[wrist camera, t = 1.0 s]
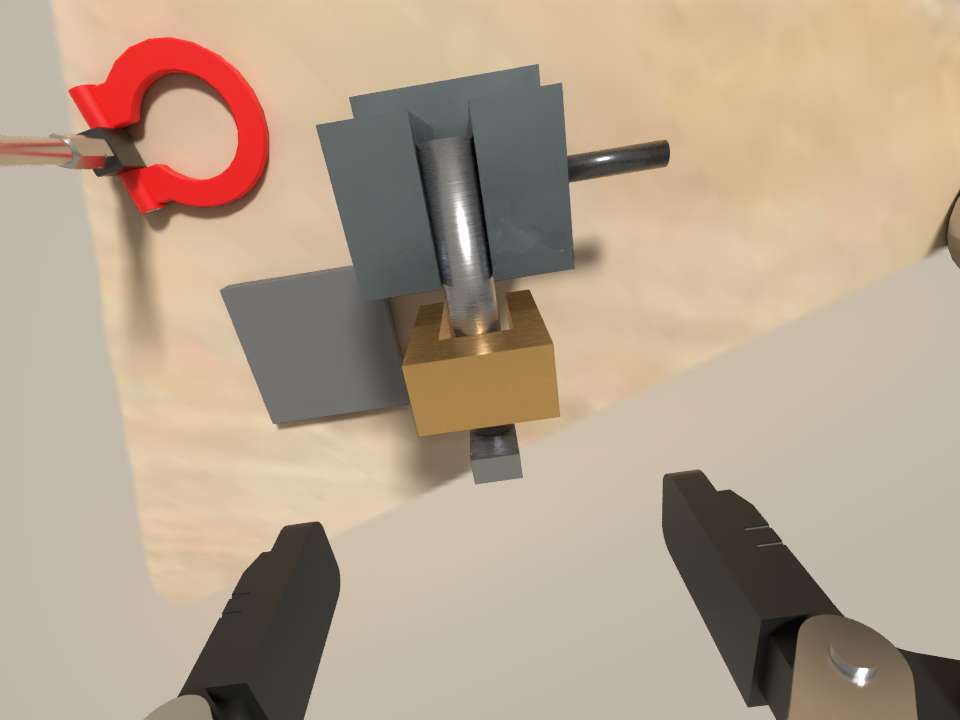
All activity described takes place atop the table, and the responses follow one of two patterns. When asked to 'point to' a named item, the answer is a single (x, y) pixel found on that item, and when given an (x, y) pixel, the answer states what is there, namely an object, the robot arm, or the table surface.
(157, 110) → the table surface
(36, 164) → the tow hook
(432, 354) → the ochre slotted block
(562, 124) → the vise
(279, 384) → the rubber mat
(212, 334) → the table surface
